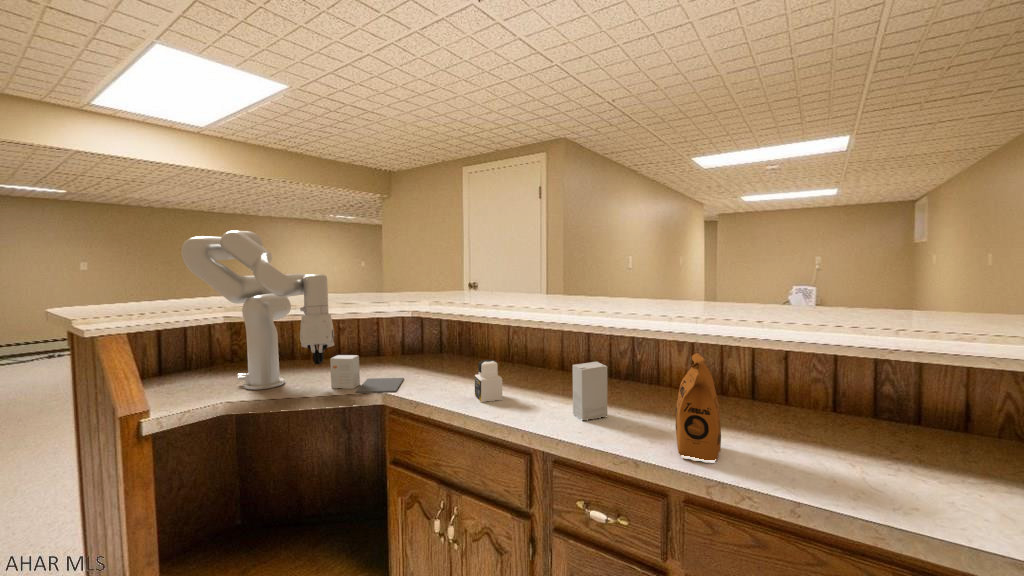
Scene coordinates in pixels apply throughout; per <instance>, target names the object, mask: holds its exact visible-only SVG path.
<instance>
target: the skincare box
mask: <svg viewBox="0 0 1024 576" xmlns="http://www.w3.org/2000/svg"><path fill="white" fill-rule="evenodd" d="M573 414H574V415H576V416H577V417H579V418H580V419H582V420H587V419H593V420H595V419H594V418H599V419H602V418H601V417H605V418H607V417H608V366H607V365H605V364H603V363H600V362H599V361H592V362H591V361H590V362H586V363H585V362H583V363H576V364H572V415H573ZM574 415H573V416H574ZM576 416H575V417H576ZM606 416H607V417H606ZM577 417H576V418H577ZM579 418H578V419H579ZM580 419H579V420H580ZM587 421H588V420H587Z"/></svg>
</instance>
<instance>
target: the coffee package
mask: <svg viewBox="0 0 1024 576" xmlns="http://www.w3.org/2000/svg"><path fill="white" fill-rule="evenodd" d="M691 360H692V362H693V364H692V365H691V366H690V369H689V370H688V371H687V372H686V374H685V375H684V377H683V378H682V380H681V382H680V385H679V391H678V395H677V399H676V400H677V401H676V406H675V407H676V408H675V413H674V414H675V415H674V416H675V436H676V445H677V451H678V455H679V454H680V455H684V456H690V457H695V458H699V459H704V460H715V459H717V460H718V458H719V453H720V452H721V449H722V447H721V446H722V445H721V444H722V429H721V427H722V426H721V425H722V424H721V414H720V406H719V400H718V396H717V391H716V387H715V382H714V379H713V376H712V373H711V371H710V369H709V368H708V367H707V365H706V364H705V361H706V359H705V358H704V357H703V356H701V354H700V353H699V352H695V353H694V354H692V356H691ZM680 455H679V456H680Z"/></svg>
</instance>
